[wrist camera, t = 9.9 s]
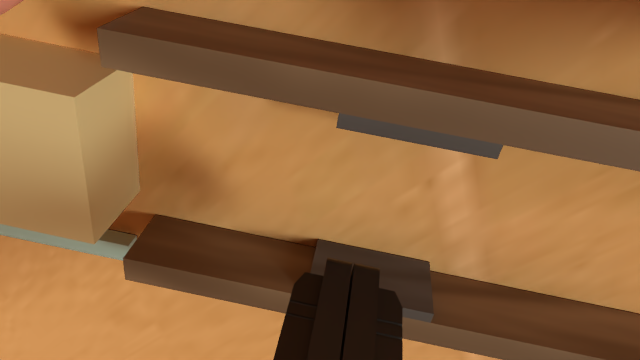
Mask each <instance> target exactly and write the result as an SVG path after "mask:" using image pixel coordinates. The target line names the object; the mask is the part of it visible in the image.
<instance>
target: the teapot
mask: <svg viewBox="0 0 640 360" xmlns="http://www.w3.org/2000/svg"><path fill="white" fill-rule="evenodd" d="M22 1H23V0H0V15H1V14H3V13H5V12H7V11H8V10H10V9H11V8H13V7H14V6H16V5H17V4H19V3H20V2H22Z"/></svg>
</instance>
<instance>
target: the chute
mask: <svg viewBox="0 0 640 360" xmlns="http://www.w3.org/2000/svg"><path fill="white" fill-rule="evenodd" d="M97 34H98V43H99V52H100V60H101V67H104V68H109V69H114V70H119V71H125V72H130V73H135V74H140V75H145V76H150V77H156V78H161V79H166V80H171V81H176V82H181V83H187V84H192V85H197V86H202V87H207V88H212V89H217V90H223V91H228V92H233V93H238V94H243V95H248V96H254V97H259V98H264V99H269V100H274V101H279V102H285V103H290V104H295V105H300V106H305V107H310V108H315V109H321V110H326V111H331V112H336V113H339V116H338V122H337V127H336V128H340V129H345V130H350V131H356V132H361V133H366V134H371V135H376V136H381V137H386V138H391V139H397V140H402V141H407V142H412V143H417V144H422V145H427V146H432V147H438V148H443V149H448V150H453V151H458V152H463V153H468V154H473V155H479V156H484V157H489V158H494V159H498V156H499V154H500V152H501V149H502V147H503V145H506V146H512V147H517V148H522V149H527V150H532V151H537V152H542V153H548V154H553V155H558V156H563V157H568V158H573V159H579V160H584V161H589V162H594V163H599V164H604V165H610V166H615V167H620V168H625V169H630V170H635V171H640V100H637V99H632V98H626V97H621V96H616V95H610V94H605V93H600V92H594V91H589V90H584V89H578V88H573V87H568V86H562V85H557V84H552V83H546V82H541V81H536V80H530V79H525V78H520V77H514V76H509V75H504V74H498V73H493V72H488V71H483V70H477V69H472V68H467V67H461V66H456V65H451V64H445V63H440V62H435V61H429V60H424V59H419V58H413V57H408V56H403V55H397V54H392V53H387V52H381V51H376V50H371V49H365V48H360V47H355V46H349V45H344V44H339V43H333V42H328V41H323V40H318V39H312V38H307V37H302V36H296V35H291V34H286V33H280V32H275V31H270V30H264V29H259V28H254V27H248V26H243V25H238V24H232V23H227V22H222V21H216V20H211V19H206V18H200V17H195V16H190V15H184V14H179V13H174V12H168V11H163V10H158V9H152V8H147V7H142V8H140V9H137V10H135V11H133V12H131V13H129V14H126V15H124V16H122V17H120V18H118V19H115V20H113V21H111V22H109V23H107V24H104V25H102V26H100V27H98V28H97ZM327 257H328V258H332V259H337V260H342V261H346V262H351V263H352V268H353V265H354V263H356V264H361V265H365V266H370V267H375V268H379V269H380V279H379V288H382V289H387V290H391V291H395V292H396V294H397V297H398V299H399V301H400V303H401V305H402V307H403V317H402V338H404V339H408V340H413V341H418V342H422V343H427V344H432V345H437V346H441V347H446V348H451V349H455V350H460V351H465V352H470V353H474V354H479V355H484V356H488V357H493V358H498V359H503V360H640V314H636V313H631V312H626V311H622V310H617V309H612V308H607V307H602V306H597V305H592V304H588V303H583V302H578V301H573V300H568V299H563V298H558V297H554V296H549V295H544V294H539V293H534V292H529V291H524V290H520V289H515V288H510V287H505V286H500V285H495V284H490V283H486V282H481V281H476V280H471V279H466V278H461V277H456V276H452V275H447V274H442V273H437V272H432V271H430V264H429V262H427V261H422V260H417V259H412V258H407V257H402V256H397V255H393V254H388V253H383V252H378V251H373V250H368V249H363V248H358V247H354V246H349V245H344V244H339V243H334V242H329V241H324V240H319V239H318V241H317V246H316V247H311V246H306V245H301V244H296V243H291V242H286V241H282V240H277V239H272V238H267V237H262V236H257V235H252V234H248V233H243V232H238V231H233V230H228V229H223V228H218V227H214V226H209V225H204V224H199V223H194V222H189V221H184V220H180V219H175V218H170V217H165V216H160V215H155V216H154V217H153V218H152V220H151V221H150V223H149V224H148V225H147V227H146V228H145V229H144V231H143V232H142V233H141V235H140V236H139V237H138V239H137V240H136V241H135V243H134V244H133V245H132V247H131V248H130V249H129V251H128V252H127V253H126V255H125V256H124V257H123V263H124V272H125V280H130V281H135V282H140V283H144V284H149V285H154V286H158V287H163V288H168V289H173V290H177V291H182V292H187V293H191V294H196V295H201V296H206V297H210V298H215V299H220V300H224V301H229V302H234V303H239V304H243V305H248V306H253V307H257V308H262V309H267V310H272V311H276V312H281V313H286V312H287V308H288V304H289V301H290V297H291V293H292V289H293V286H294V283H295V282H296V281H297V280H298V279H299V278H300V277H301V276H302V275H303V274H304V273H305V272H307V273H312V274H317V275H321V276H323V275H324V270H325V266H326V261H327ZM351 272H352V270H351Z"/></svg>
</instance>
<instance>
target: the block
mask: <svg viewBox="0 0 640 360" xmlns="http://www.w3.org/2000/svg"><path fill="white" fill-rule="evenodd" d="M139 192H140V179H139V163H138V147H137V131H136V115H135V99H134V83H133V73H130V72H125V71H119V70H114V69H109V68H104V67H101V60H100V54H98V53H93V52H88V51H83V50H79V49H74V48H69V47H64V46H59V45H54V44H49V43H44V42H40V41H35V40H30V39H25V38H20V37H15V36H10V35H6V34H1V33H0V224H3V225H8V226H12V227H17V228H21V229H26V230H31V231H35V232H40V233H44V234H49V235H54V236H58V237H63V238H67V239H72V240H77V241H81V242H86V243H90V244H95V243H96V242H97V241H98V240H99V239H100V237H101V236H102V235H103V234H104V233H105V232H106V230H107V229H108V228H109V227H110V226H111V225H112V223H113V222H114V221H115V220H116V219H117V217H118V216H119V215H120V214H121V213H122V212H123V210H124V209H125V208H126V207H127V206H128V205H129V203H130V202H131V201H132V200H133V199H134V198H135V196H136V195H137V194H138V193H139Z"/></svg>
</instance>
